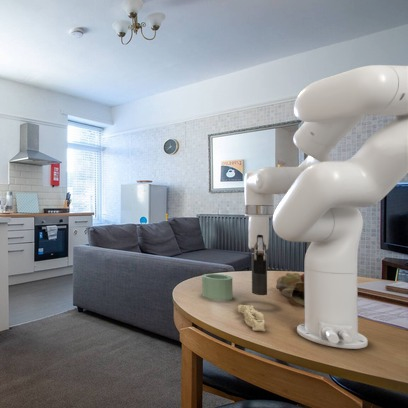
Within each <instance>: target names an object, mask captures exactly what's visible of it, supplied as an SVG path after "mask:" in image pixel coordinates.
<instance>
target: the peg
mask: <svg viewBox="0 0 408 408" xmlns="http://www.w3.org/2000/svg"><path fill="white" fill-rule="evenodd" d="M253 260H254V252H252V253H251V294H252V295H257V296H267V295H268V254H267V253H265V260H266V274H256V273H254V266H253Z"/></svg>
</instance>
